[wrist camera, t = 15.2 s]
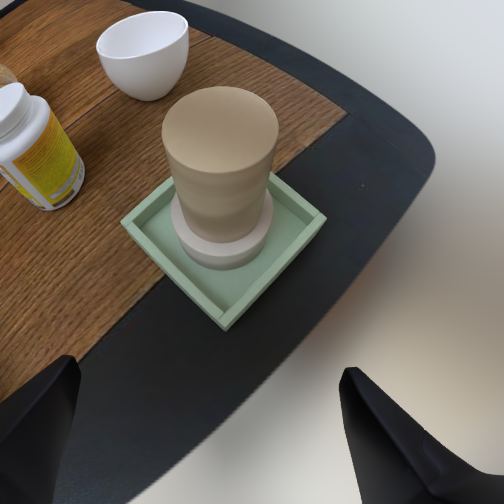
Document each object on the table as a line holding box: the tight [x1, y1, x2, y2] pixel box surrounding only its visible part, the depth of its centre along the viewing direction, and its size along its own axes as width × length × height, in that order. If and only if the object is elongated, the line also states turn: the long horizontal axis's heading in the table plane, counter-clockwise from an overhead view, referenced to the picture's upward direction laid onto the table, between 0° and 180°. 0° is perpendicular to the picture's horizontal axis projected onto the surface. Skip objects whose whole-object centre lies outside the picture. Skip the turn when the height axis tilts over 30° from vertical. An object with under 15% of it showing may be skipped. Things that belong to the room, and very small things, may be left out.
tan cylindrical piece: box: [161, 87, 279, 271], centre depth 16 cm, size 6×6×10 cm
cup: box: [96, 11, 189, 101], centre depth 23 cm, size 8×10×7 cm
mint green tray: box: [120, 171, 327, 331], centre depth 21 cm, size 9×9×3 cm
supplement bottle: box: [0, 83, 85, 211], centre depth 18 cm, size 6×6×10 cm
